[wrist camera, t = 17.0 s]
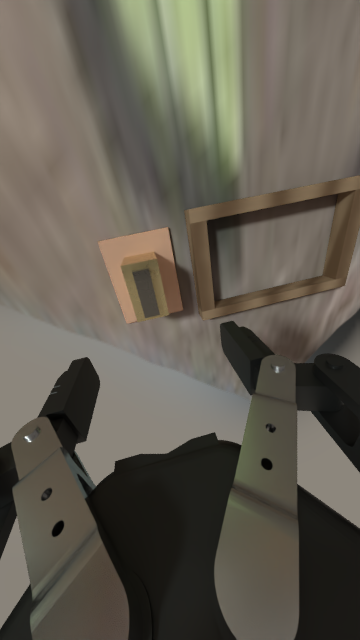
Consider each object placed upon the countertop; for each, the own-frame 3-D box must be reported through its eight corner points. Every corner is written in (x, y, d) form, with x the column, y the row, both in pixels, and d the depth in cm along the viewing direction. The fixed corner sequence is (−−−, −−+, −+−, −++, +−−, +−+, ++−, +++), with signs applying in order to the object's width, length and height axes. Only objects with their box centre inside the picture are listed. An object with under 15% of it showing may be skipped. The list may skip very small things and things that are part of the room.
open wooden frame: (353, 176, 26) (373, 172, 24) (331, 281, 34) (344, 285, 31) (184, 210, 25) (188, 209, 22) (199, 313, 32) (203, 320, 30)
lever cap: (153, 251, 26) (157, 259, 20) (164, 299, 29) (169, 317, 24) (124, 257, 25) (119, 267, 20) (138, 305, 29) (137, 325, 23)
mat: (167, 227, 25) (167, 227, 25) (182, 309, 31) (183, 310, 30) (98, 241, 24) (97, 241, 24) (127, 322, 30) (126, 323, 30)
